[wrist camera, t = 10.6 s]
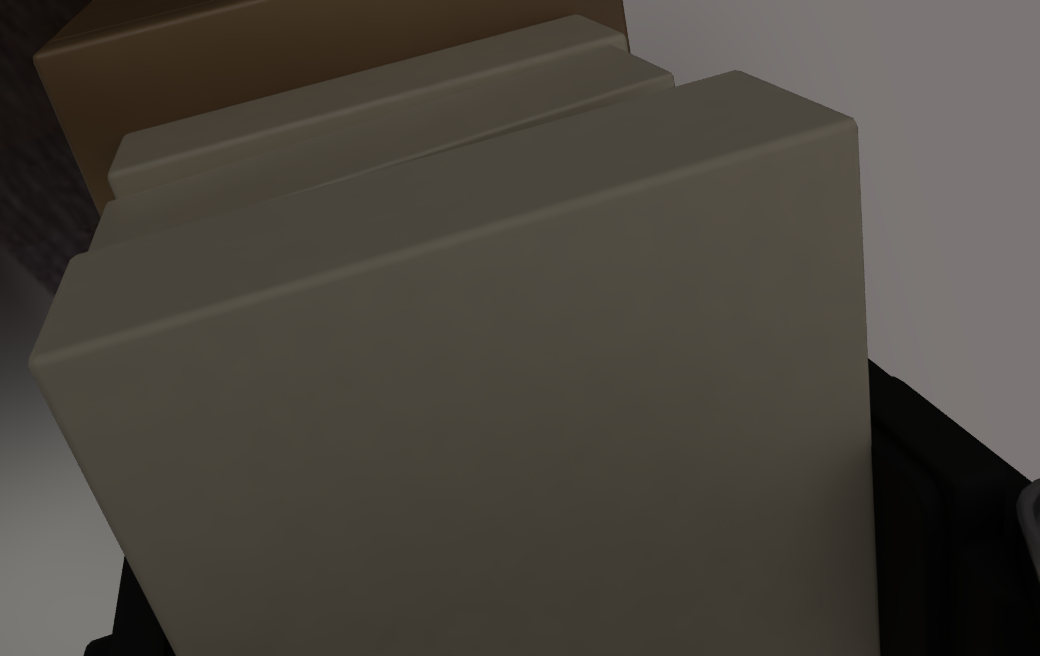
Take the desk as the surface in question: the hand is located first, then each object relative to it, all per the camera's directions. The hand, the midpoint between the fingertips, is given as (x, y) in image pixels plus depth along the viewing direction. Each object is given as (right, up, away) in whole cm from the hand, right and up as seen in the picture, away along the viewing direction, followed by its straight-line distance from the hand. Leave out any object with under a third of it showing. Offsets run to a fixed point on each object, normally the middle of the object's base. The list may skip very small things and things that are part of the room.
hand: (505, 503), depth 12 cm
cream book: (0, 0, -1) cm, 1 cm away
